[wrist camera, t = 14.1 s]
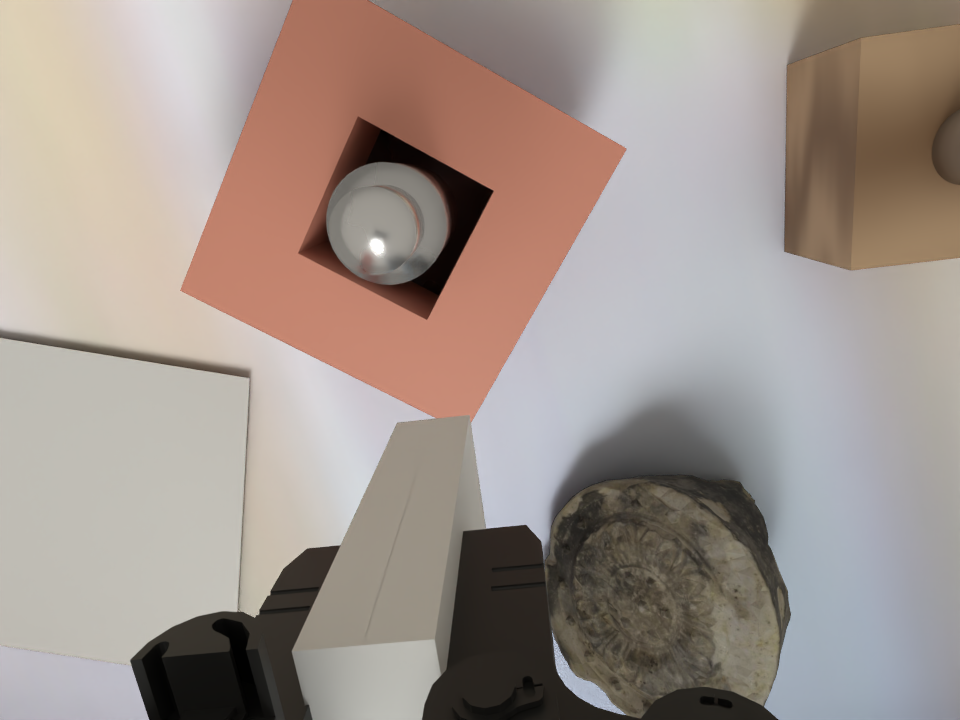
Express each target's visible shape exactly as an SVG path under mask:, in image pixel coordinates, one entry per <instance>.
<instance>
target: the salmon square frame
mask: <svg viewBox="0 0 960 720" xmlns="http://www.w3.org/2000/svg"><path fill="white" fill-rule="evenodd" d="M381 129H382V130H384V131H386V132H388V133H390V134H391V135H393V136H395V137H397V138H399V139H400V140H402V141H404V142H406V143H408V144H410V145H411V146H413V147H415V148H417V149H419V150H420V151H422V152H424V153H426V154H428V155H429V156H431V157H433V158H435V159H437V160H439V161H440V162H442V163H444V164H446V165H448V166H449V167H451V168H453V169H455V170H457V171H459V172H460V173H462V174H464V175H466V176H468V177H469V178H471V179H473V180H475V181H477V182H479V183H480V184H482V185H484V186H486V187H488V188H489V189H491V190H493V192H492V194H491V196H490V198H489V200H488V202H487V204H486V206H485V207H484V209H483V211H482V213H481V215H480V217H479V219H478V221H477V223H476V225H475V227H474V229H473V231H472V233H471V235H470V237H469V238H468V240H467V242H466V244H465V246H464V248H463V250H462V252H461V254H460V256H459V258H458V260H457V262H456V264H455V266H454V267H453V269H452V271H451V273H450V275H449V277H448V279H447V281H446V283H445V285H444V287H443V289H442V291H441V293H440V295H437V294H435V293H433V292H431V291H429V290H427V289H425V288H423V287H421V286H420V285H418V284H416V283H414V282H412V281H408V282H405V283H400V284H393V285H385V284H377V283H373V282H370V281H367V280H364V279H362V278H360V277H358V276H357V275H355V274H354V273H352V272H351V271H350V270H349V269H348V268H346V267H345V265H344V264H343V263H342V262H341V261H340V260H339V258H338V257H337V255H336V254H335V252H334V250H333V248H332V246H331V243H330V241H329V237H328V233H327V226H326V215H327V208H328V204H329V201H330V198H331V196H332V194H333V192H334V190H335V188H336V187H337V185H338V184H339V183H340V182H341V180H342V179H344V178H345V177H346V176H347V175H348V174H349V173H351V172H352V171H354V170H355V169H357V168H359V167H362V166H364V165H365V164H366V162H367V160H368V158H369V155H370V153H371V151H372V149H373V146H374V144H375V142H376V140H377V138H378V135H379V133H380V131H381ZM625 151H626V148H624V147H623V146H621V145H619V144H618V143H616V142H614V141H612V140H611V139H609V138H607V137H605V136H604V135H602V134H600V133H598V132H597V131H595V130H593V129H591V128H590V127H588V126H586V125H584V124H583V123H581V122H579V121H577V120H576V119H574V118H572V117H571V116H569V115H567V114H565V113H564V112H562V111H560V110H558V109H557V108H555V107H553V106H551V105H550V104H548V103H546V102H544V101H543V100H541V99H539V98H537V97H536V96H534V95H532V94H530V93H529V92H527V91H525V90H523V89H522V88H520V87H518V86H517V85H515V84H513V83H511V82H510V81H508V80H506V79H504V78H503V77H501V76H499V75H497V74H496V73H494V72H492V71H490V70H489V69H487V68H485V67H483V66H482V65H480V64H478V63H476V62H475V61H473V60H471V59H469V58H468V57H466V56H464V55H463V54H461V53H459V52H457V51H456V50H454V49H452V48H450V47H449V46H447V45H445V44H443V43H442V42H440V41H438V40H436V39H435V38H433V37H431V36H429V35H428V34H426V33H424V32H422V31H421V30H419V29H417V28H415V27H414V26H412V25H410V24H409V23H407V22H405V21H403V20H402V19H400V18H398V17H396V16H395V15H393V14H391V13H389V12H388V11H386V10H384V9H382V8H381V7H379V6H377V5H375V4H374V3H372V2H370V1H368V0H293V1H292V4H291V6H290V9H289V12H288V14H287V17H286V19H285V22H284V24H283V27H282V30H281V32H280V35H279V37H278V40H277V42H276V45H275V48H274V50H273V53H272V55H271V58H270V61H269V63H268V66H267V68H266V71H265V73H264V76H263V79H262V81H261V84H260V86H259V89H258V91H257V94H256V97H255V99H254V102H253V104H252V107H251V110H250V112H249V115H248V117H247V120H246V122H245V125H244V128H243V130H242V133H241V135H240V138H239V141H238V143H237V146H236V148H235V151H234V153H233V156H232V159H231V161H230V164H229V166H228V169H227V171H226V174H225V177H224V179H223V182H222V184H221V187H220V190H219V192H218V195H217V197H216V200H215V202H214V205H213V208H212V210H211V213H210V215H209V218H208V220H207V223H206V226H205V228H204V231H203V233H202V236H201V239H200V241H199V244H198V246H197V249H196V251H195V254H194V257H193V259H192V262H191V264H190V267H189V269H188V272H187V275H186V277H185V280H184V282H183V285H182V288H181V290H180V291H182V292H184V293H186V294H188V295H190V296H192V297H194V298H196V299H198V300H200V301H202V302H204V303H206V304H208V305H210V306H212V307H214V308H216V309H218V310H220V311H222V312H224V313H226V314H228V315H230V316H232V317H234V318H236V319H238V320H240V321H242V322H244V323H246V324H248V325H250V326H252V327H254V328H256V329H258V330H260V331H262V332H264V333H266V334H268V335H270V336H272V337H274V338H276V339H278V340H280V341H282V342H284V343H286V344H288V345H290V346H292V347H294V348H296V349H298V350H300V351H302V352H304V353H306V354H308V355H310V356H312V357H314V358H316V359H319V360H321V361H323V362H325V363H327V364H329V365H331V366H333V367H335V368H337V369H339V370H341V371H343V372H345V373H347V374H349V375H351V376H353V377H355V378H357V379H359V380H361V381H363V382H365V383H367V384H369V385H371V386H373V387H375V388H377V389H379V390H381V391H383V392H385V393H387V394H389V395H391V396H393V397H395V398H397V399H399V400H401V401H403V402H405V403H407V404H409V405H411V406H413V407H415V408H417V409H419V410H421V411H423V412H425V413H427V414H429V415H431V416H433V417H435V418H446V417H455V416H464V415H470V421H471V422H472V420H473V418H474V417H475V415H476V413H477V411H478V410H479V408H480V406H481V404H482V403H483V401H484V399H485V397H486V396H487V394H488V392H489V390H490V389H491V387H492V385H493V383H494V381H495V380H496V378H497V376H498V374H499V373H500V371H501V369H502V367H503V366H504V364H505V362H506V360H507V359H508V357H509V355H510V353H511V352H512V350H513V348H514V346H515V345H516V343H517V341H518V339H519V338H520V336H521V334H522V332H523V330H524V329H525V327H526V325H527V323H528V322H529V320H530V318H531V316H532V315H533V313H534V311H535V309H536V308H537V306H538V304H539V302H540V301H541V299H542V297H543V295H544V294H545V292H546V290H547V288H548V286H549V285H550V283H551V281H552V279H553V278H554V276H555V274H556V272H557V271H558V269H559V267H560V265H561V264H562V262H563V260H564V258H565V257H566V255H567V253H568V251H569V250H570V248H571V246H572V244H573V243H574V241H575V239H576V237H577V235H578V234H579V232H580V230H581V228H582V227H583V225H584V223H585V221H586V220H587V218H588V216H589V214H590V213H591V211H592V209H593V207H594V206H595V204H596V202H597V200H598V199H599V197H600V195H601V193H602V191H603V190H604V188H605V186H606V184H607V183H608V181H609V179H610V177H611V176H612V174H613V172H614V170H615V169H616V167H617V165H618V163H619V162H620V160H621V158H622V156H623V155H624V153H625Z"/></svg>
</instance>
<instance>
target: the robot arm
mask: <svg viewBox="0 0 960 720" xmlns="http://www.w3.org/2000/svg"><path fill="white" fill-rule="evenodd" d="M270 592H271V595H270V596H267V598H266V600H265V602H264V603H263V605H262V607H261V608H260V610H259V612H260V613H259V615H256V617H255V618H254V617H252V616H250V615H248V614H246V613H244V612H230V611H221V612H216V613H211V614H206V615H201V616H197V617H195V618H192V619H190V620H188V621H185V622H183V623H180V624H178V625H175V626H173V627H171V628H170V629H168V630H167V631H165V632H163V633H162V634H160V635H159V636H157V637H156V638H154V639H152V640H151V641H149V642H148V643H147V644H146V645H145V646H144V647H143V648H142V649H141V650H140V651H139V652H138V653H137V654H136V655H135V656H133V657H132V658H131V659H130V662H131V665H132V668H133V671H134V675H135V678H136V681H137V684H138V687H139V690H140V693H141V696H142V699H143V702H144V705H145V708H146V711H147V714H148V717H149V720H778V719H777V718H776V717H775V716H773V715H772V714H771V713H770V712H769V711H768V710H767V709H765V708H764V707H763V706H762V705H760V704H758V703H756V702H754V701H752V700H750V699H748V698H746V697H744V696H741V695H739V694H737V693H735V692H732V691H727V690H721V689H715V688H710V687H695V688H686V689H677V690H675V691H673V692H671V693H669V694H667V695H665V696H663V697H661V698H659V699H657V700H655V701H654V703H653V704H652V705H651V706H650V708H649V709H648V710H647V711H646V712H645V714H644V715H643V716H642V717H641V718H636V717H632V716H627V715H622V714H617V713H613V712H610V711H607V710H603V709H600V708H597V707H594V706H593V705H591V704H589V703H587V702H585V701H584V700H582V699H580V698H578V697H577V696H576V695H575V694H574V693H573V692H572V691H570V690H569V689H568V688H567V687H566V686H565V684H564V683H563V681H562V680H561V678H560V677H559V675H558V674H557V670H556V665H555V656H554V646H553V637H552V628H551V619H550V611H549V602H548V594H547V586H546V577H545V569H544V560H543V552H542V544H541V541H540V540H539V539H538V538H537V536H536V535H535V534H534V533H533V532H532V531H531V530H530V529H529V528H528V526H527V525H520V526H510V527H500V528H490V529H486V525H485V519H484V512H483V505H482V498H481V491H480V484H479V477H478V470H477V463H476V456H475V449H474V442H473V435H472V428H471V421H470V415H464V416H455V417H446V418H437V419H428V420H419V421H410V422H401V423H397V424H396V427H395V429H394V431H393V433H392V435H391V437H390V440H389V442H388V444H387V446H386V448H385V450H384V453H383V455H382V457H381V459H380V461H379V463H378V466H377V468H376V470H375V472H374V474H373V476H372V479H371V481H370V483H369V485H368V487H367V489H366V492H365V494H364V496H363V498H362V500H361V502H360V505H359V507H358V509H357V511H356V513H355V515H354V518H353V520H352V522H351V524H350V526H349V528H348V531H347V533H346V535H345V537H344V539H343V541H342V544H341V545H340V546H330V547H320V548H309V549H306V550H305V551H304V552H303V553H302V554H300V555H299V556H298V557H297V558H296V559H295V560H293V561H292V562H291V563H290V564H289V565H288V566H286V567H285V568H284V569H283V571H282V572H281V574H280V576H279V578H278V579H277V581H276V583H275V584H274V586H273V588H272V590H271V591H270Z"/></svg>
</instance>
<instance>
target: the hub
mask: <svg viewBox="0 0 960 720" xmlns="http://www.w3.org/2000/svg"><path fill="white" fill-rule="evenodd" d="M492 192H493V190H491V189H489V188H488V187H486V186H484V185H482V184H480V183H479V182H477V181H475V180H473V179H471V178H469V177H468V176H466V175H464V174H462V173H460V172H459V171H457V170H455V169H453V168H451V167H449V166H448V165H446V164H444V163H442V162H440V161H439V160H437V159H435V158H433V157H431V156H429V155H428V154H426V153H424V152H422V151H420V150H419V149H417V148H415V147H413V146H411V145H410V144H408V143H406V142H404V141H402V140H400V139H399V138H397V137H395V136H393V135H391V134H390V133H388V132H386V131H384V130H382V129H381V131H380V133H379V135H378V138H377V140H376V142H375V144H374V146H373V149H372V151H371V153H370V155H369V158H368V160H367V162H366V164H365V165H364V166H362V167H359V168H357V169H355V170H354V171H352V172H351V173H349V174H348V175H347V176H346V177H345V178H344V179H342V180H341V182H340V183H339V184H338V185H337V187H336V188H335V190H334V192H333V194H332V196H331V198H330V201H329V204H328V208H327V215H326V226H327V233H328V237H329V241H330V243H331V246H332V248H333V250H334V252H335V254H336V255H337V257H338V258H339V260H340V261H341V262H342V263H343V264H344V265H345V267H346V268H348V269H349V270H350V271H351V272H352V273H354V274H355V275H357V276H358V277H360V278H362V279H364V280H367V281H370V282H373V283H377V284H385V285H393V284H400V283H405V282H408V281H412V282H414V283H416V284H418V285H420V286H421V287H423V288H425V289H427V290H429V291H431V292H433V293H435V294H437V295H440V293H441V291H442V289H443V287H444V285H445V283H446V281H447V279H448V277H449V275H450V273H451V271H452V269H453V267H454V266H455V264H456V262H457V260H458V258H459V256H460V254H461V252H462V250H463V248H464V246H465V244H466V242H467V240H468V238H469V237H470V235H471V233H472V231H473V229H474V227H475V225H476V223H477V221H478V219H479V217H480V215H481V213H482V211H483V209H484V207H485V206H486V204H487V202H488V200H489V198H490V196H491V194H492Z"/></svg>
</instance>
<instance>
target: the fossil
mask: <svg viewBox="0 0 960 720" xmlns="http://www.w3.org/2000/svg"><path fill="white" fill-rule="evenodd" d="M550 538H551V543H550V555H549V556H548V557H547V559H546V560H545V577H546V586H547V594H548V602H549V611H550V619H551V628H552V631H553V634H554V638H555V640H556V642H557V644H558V646H559V648H560V651H561V653H562V655H563V656H564V658H565V660H566V661H567V663H568V665H569V667H570V669H571V670H572V671H573V672H574V674H575V675H576V676H577V677H579V678H582V679H584V680H586V681H591V682H593V683H595V684H596V685H597V686H598V687H600V688H601V689H602V690H603V691H604V692H605V693H606V694H607V696H608V698H609V699H610V701H611V702H612V703H613V704H614V705H615V706H617V707H618V708H619V709H620V710H621V711H623V712H624V713H625V714H626V715H627V716H632V717H636V718H641V717H642V716H643V715H644V714H645V712H646V711H647V710H648V709H649V708H650V706H651V705H652V704H653V703H654V701H655V700H657V699H659V698H661V697H663V696H665V695H667V694H669V693H671V692H673V691H675V690H677V689H686V688H695V687H710V688H715V689H721V690H727V691H732V692H735V693H737V694H739V695H741V696H744V697H746V698H748V699H750V700H752V701H754V702H756V703H758V704H760V705H762V706H763V707H764V705H765V703H766V700H767V698H768V696H769V693H770V691H771V688H772V685H773V682H774V680H775V678H776V674H777V670H778V666H779V659H780V653H781V648H782V645H783V641H784V637H785V633H786V629H787V626H788V623H789V621H790V616H791V613H790V607H789V602H788V591H787V588H786V586H785V583H784V581H783V579H782V576H781V574H780V572H779V569H778V566H777V563H776V561H775V558H774V555H773V553H772V550H771V548H770V547H769V546H768V533H767V528H766V524H765V521H764V518H763V516H762V514H761V512H760V511H759V509H758V508H757V506H756V505H755V500H754V499H752V498H751V495H750V494H749V493H748V492H747V491H746V490H745V489H744V488H743V486H742V484H741V483H740V482H737V481H732V480H720V481H715V480H711V481H707V480H703V479H700V478H697V477H694V476H687V475H662V476H638V477H633V478H628V479H617V480H607V481H603V482H600V483H597V484H594V485H592V486H589V487H587V488H585V489H583V490H582V491H580V492H579V493H578V494H576V495H575V496H573V497H572V498H571V499H570V500H569V502H568V503H567V504H566V505H565V506H564V507H563V509H562V510H561V511H560V512H559V513H558V515H557V516H556V517H555V520H554V522H553V524H552V526H551V537H550Z"/></svg>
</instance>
